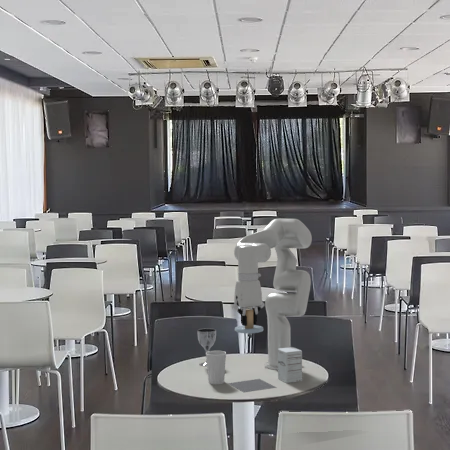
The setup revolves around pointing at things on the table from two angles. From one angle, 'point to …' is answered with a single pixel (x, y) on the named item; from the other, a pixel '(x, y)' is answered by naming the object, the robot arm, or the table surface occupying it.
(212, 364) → the cup
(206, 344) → the wine glass
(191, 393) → the table surface
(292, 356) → the supplement box
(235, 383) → the mat
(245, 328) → the lid
